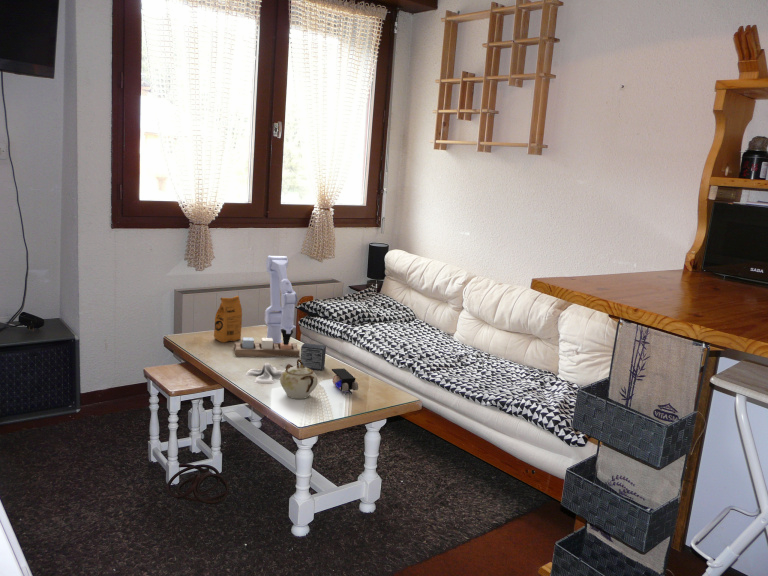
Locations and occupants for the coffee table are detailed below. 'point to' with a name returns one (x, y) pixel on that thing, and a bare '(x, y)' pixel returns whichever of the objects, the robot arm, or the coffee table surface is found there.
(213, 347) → the coffee table surface
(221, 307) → the coffee package
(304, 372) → the sugar bowl
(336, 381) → the figurine character
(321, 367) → the small box
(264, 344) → the cream block
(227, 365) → the coffee table surface
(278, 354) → the block rack
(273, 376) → the cloth
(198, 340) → the coffee table surface
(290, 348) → the terracotta block
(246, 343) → the slate block
